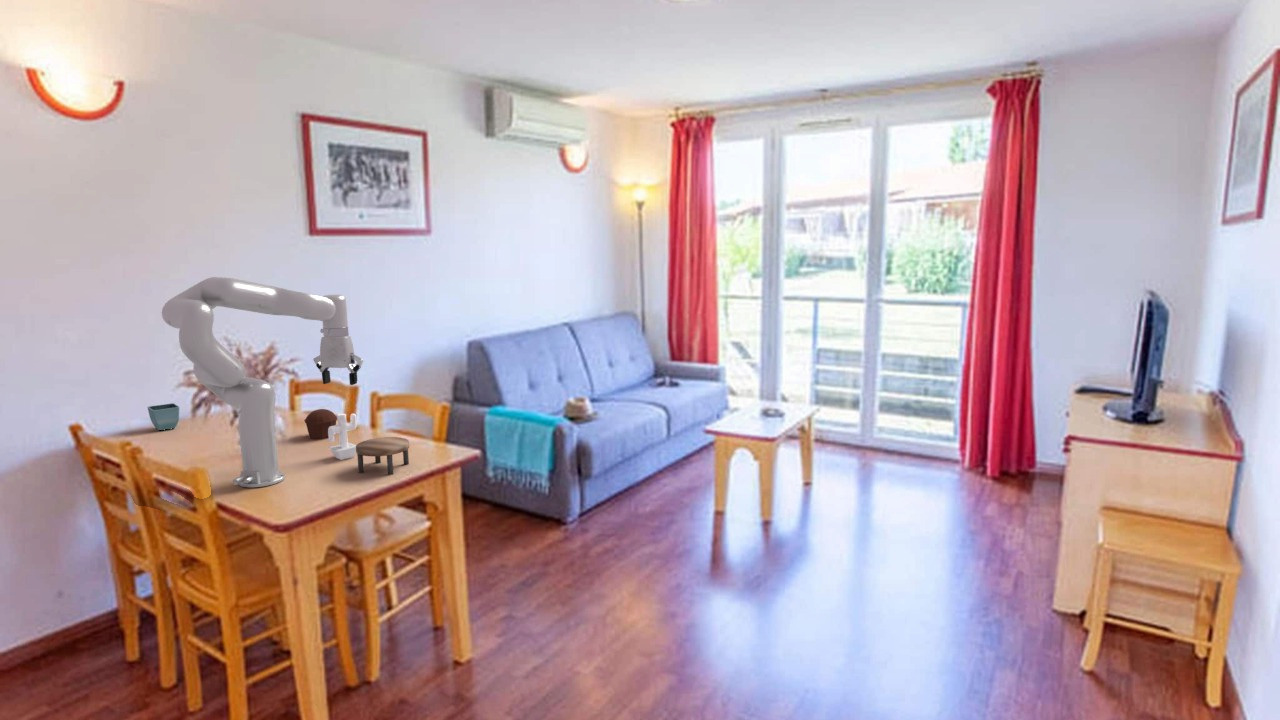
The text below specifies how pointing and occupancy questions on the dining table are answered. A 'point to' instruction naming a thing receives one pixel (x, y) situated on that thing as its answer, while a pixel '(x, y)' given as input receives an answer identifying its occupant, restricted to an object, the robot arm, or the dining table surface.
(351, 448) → the figurine
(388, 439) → the walnut stool
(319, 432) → the muffin
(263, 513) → the dining table surface
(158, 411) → the flower pot
